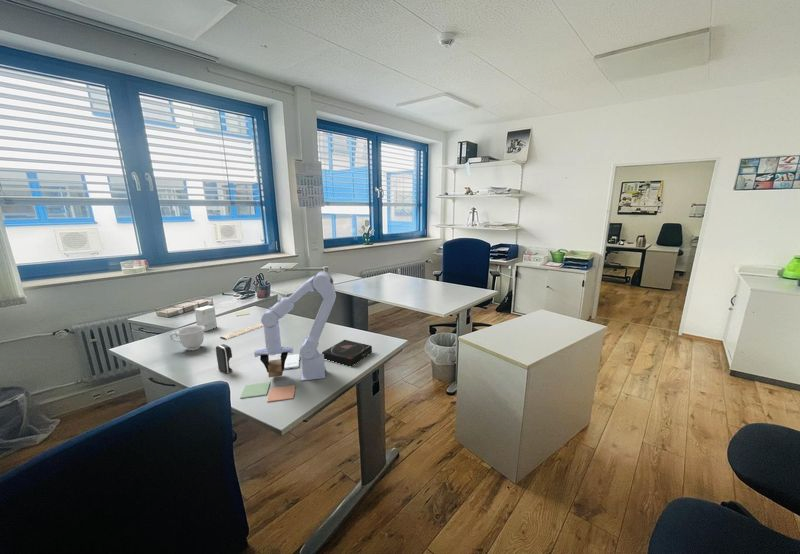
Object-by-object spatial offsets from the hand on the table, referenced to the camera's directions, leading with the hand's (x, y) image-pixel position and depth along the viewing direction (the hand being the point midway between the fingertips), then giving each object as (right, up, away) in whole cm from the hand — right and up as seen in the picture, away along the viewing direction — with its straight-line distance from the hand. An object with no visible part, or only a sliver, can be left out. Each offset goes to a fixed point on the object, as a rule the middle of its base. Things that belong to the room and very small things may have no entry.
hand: (275, 370), depth 132 cm
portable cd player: (+26, 0, +21) cm, 33 cm away
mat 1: (-4, -5, -8) cm, 11 cm away
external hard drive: (+1, -1, +14) cm, 14 cm away
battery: (-24, -2, +8) cm, 26 cm away
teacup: (-55, +2, +30) cm, 62 cm away
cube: (0, -1, 0) cm, 1 cm away
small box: (-62, +8, +57) cm, 85 cm away
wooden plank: (-40, +6, +52) cm, 66 cm away
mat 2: (+6, -6, -11) cm, 14 cm away
